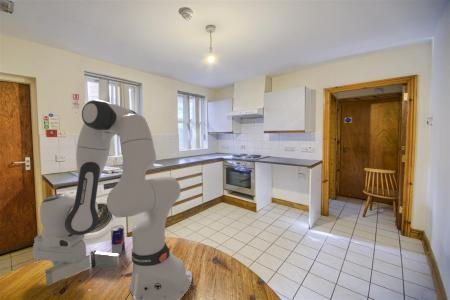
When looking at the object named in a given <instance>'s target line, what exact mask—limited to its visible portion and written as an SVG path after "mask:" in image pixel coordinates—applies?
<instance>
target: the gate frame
mask: <svg viewBox="0 0 450 300" xmlns="http://www.w3.org/2000/svg"><path fill="white" fill-rule="evenodd" d="M89 255H90V268H100V269H108V270H109V269H110V270H116V271H117V270H119V269H120V255H119V254H114V253H112V252H103V251H97V250H94V249H93V250H90V253H89Z"/></svg>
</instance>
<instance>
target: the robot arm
mask: <svg viewBox="0 0 450 300" xmlns="http://www.w3.org/2000/svg"><path fill="white" fill-rule="evenodd" d="M81 118H82V121H83V124H82V127H81V130H80V132H79V135H78V139H77V144H76V150H75V151H76V152H75V153H76V154H75V157H76V159H75V160H76V169H77V187H76V192H75V193H76V194H75V196H73V195H69V194H67V193H65V192H64V193H56V194H53V195H50V196H48V197H46V198H45V199H44V200H42V202H41V203H40V206H39V219H40V223H41V226H42V230H41V234H38V235H36V236H35V237H34V239H33V240H34V243H33V244H32V245H33V246H32V258H33V259H35V260H36V261H37V260H39V261H46V262H47V261H49V262H51V264H52V265H53V267H54V266H57V265H59V264H62V263H64V262H67V263H79V262H81V261H82V260H83V259H84V258H85V257H86V254H87V247H86V242H85V240H83V239H84V238H85V235H87V234H89V233H91V232H92V231H94V230H95V229H96V227H97V226H98V224H99V222H100V221H99V220H100V216H99V205H98V202H97V201H96V200H97V194H98V188H99V182H100V178H101V175H102V173H103V172H104V169H105V166H106V164H107V161H108V157H109V153H110V149H111V148H110V147H111V141H112V138H113V137H114V136H115V135H117V136H118V137H119V143H120V149H121V155H122V165H123V166H122V167H123V168H122V173H121V176H120V179H119V180H118V182H117V183H116V184H115V186H113V188H112V189H110V191H109V193H108V195H107V198H106V207H107V209H108V211H109V213H110V214H111V215H112V216H114V217H115V218H128V217H129V218H130V217H134V216H137V215H139V214H142V216H141V217H140V219H138V221H137V222H136V223H134V225H133V226H132V230H131V239H132V248H131V261H132V271H131V272H132V274H131V278H130V283H129V285H128V286H129V287H128V289H129V291H130V294H131V295H132V296H133V300H177V299H180V298H181V297H182V296H184V294H185V293H186V292H187V291H188V292H189V290H190V288H191V286H190V285H192V283H193V274H192V271H191V270H187V268H186V265H185V262H184V261H183V260H181V259H180V258H178V257H177V256H176V255H174V254H173V253H171V252H170V251H171V249H172V244H170V245H169V247H168V245H167V243H166V241H165V239H166V238H165V237H166V236H165V235H166V222H167V219H168V215H169V213H170V211H171V209H172V207H173V206H174V204H175V203H176V202H177V201H178V200H179V198H180V195H181V190H182V189H181V186H180V183H179V181H178V180H177V179H176V178H175V177H172V176H160V177H155V178H149V179H147V178H146V173H147V171H148V170H149V169H151V168H152V167H153V166H155V163H156V162H157V161H156V160H157V155H156V152H155V151H156V150H155V146H154V140H153V136H152V133H151V130H150V127H149V124H148V122H147V120H146V118H145V117H144V116H143V115H141V114H138V113H137V112H135V111H134V110H133V109H128V108H126V107H124V106H122V105H119V104H115V103H111V102H107V101H104V100H101V99H91V100H89V101H87V102H86V103H85V104H84V106H83V107H82V110H81ZM191 282H192V283H191ZM189 287H190V288H189ZM188 289H189V290H188ZM188 292H187V293H188ZM181 293H183V294H181ZM187 293H186V294H187ZM184 297H185V296H184Z"/></svg>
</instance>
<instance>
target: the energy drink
mask: <svg viewBox="0 0 450 300" xmlns="http://www.w3.org/2000/svg"><path fill="white" fill-rule="evenodd" d="M110 236H111V237H110V240H111V253H114V254H119V256H121V255H123V254H125V252H126V245H125V244H126V242H125V239H126V238H125V228H124V225H121V224H120V225H115V226H113V227H111V230H110Z"/></svg>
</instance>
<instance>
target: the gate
mask: <svg viewBox="0 0 450 300" xmlns="http://www.w3.org/2000/svg"><path fill="white" fill-rule="evenodd" d="M89 268H91V254H90V253H89V252H86V257H85V258H84V259H83V260H82V261H81V262H79V263H67V262H64V263H62V264H59V265H57V266H54V265H53V266H52V267H48V268H47V269H45V281H46V286H47V287H50V286H52V285H53V284H55V283H57V282H59V281H62V280H64V279H66V278H68V277H70V276H73V275H75V274H77V273H80V272H81V271H84V270H86V269H89Z"/></svg>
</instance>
